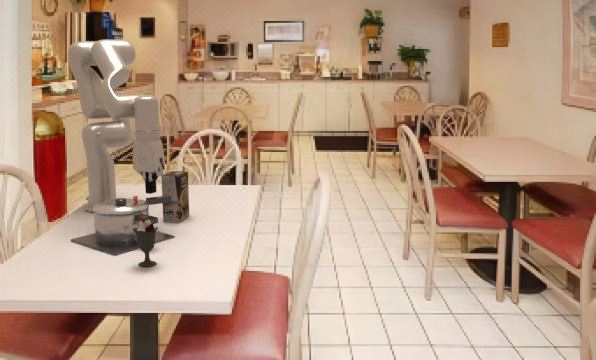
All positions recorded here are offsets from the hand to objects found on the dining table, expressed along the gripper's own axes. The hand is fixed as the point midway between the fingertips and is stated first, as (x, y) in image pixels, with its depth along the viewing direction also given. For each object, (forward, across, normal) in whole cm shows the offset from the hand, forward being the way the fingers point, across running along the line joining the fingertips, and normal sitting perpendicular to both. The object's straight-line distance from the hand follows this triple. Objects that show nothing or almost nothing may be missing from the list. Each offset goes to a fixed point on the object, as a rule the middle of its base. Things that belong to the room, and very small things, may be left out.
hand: (151, 192), depth 198 cm
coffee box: (+12, -3, +14) cm, 19 cm away
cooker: (+12, +2, -13) cm, 18 cm away
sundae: (+13, +22, -25) cm, 36 cm away
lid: (+3, +1, -9) cm, 10 cm away
